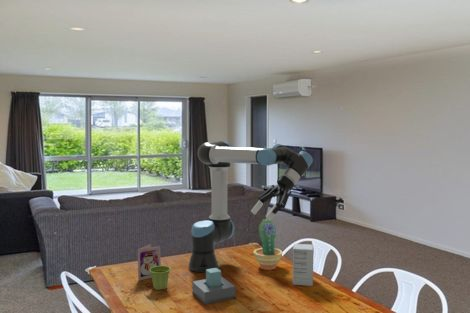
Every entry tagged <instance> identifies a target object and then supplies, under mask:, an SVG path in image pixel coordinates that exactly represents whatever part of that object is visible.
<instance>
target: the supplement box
mask: <svg viewBox="0 0 470 313" xmlns="http://www.w3.org/2000/svg"><path fill="white" fill-rule="evenodd" d="M292 285H293V286H308V287H309V286H310V287H313V285H314V244H308V243H307V244H304V243H293V247H292Z"/></svg>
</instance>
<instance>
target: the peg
mask: <svg viewBox="0 0 470 313" xmlns="http://www.w3.org/2000/svg"><path fill="white" fill-rule="evenodd" d="M221 276H222V270H221V269H219V268H212V269H206V272H205V279H206V286H207V287H209V288H213V287H218V286H221Z"/></svg>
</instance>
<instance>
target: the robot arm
mask: <svg viewBox="0 0 470 313" xmlns="http://www.w3.org/2000/svg"><path fill="white" fill-rule="evenodd" d="M197 158H198V160H199V161H200V162H201V163H203V164H204V165H208V168H209V169H210V170H211V172H210V173H211V213H210V215H209V216H208V220H200V221H196V222H194V223H193V224H192V225H191V231H190V232H191V233H190V234H191V255H190V259H189V262H188V269H189V271H192V272H196V273H206V269H212V268H217V269H219V262H218V260H217V256H216V253H215V252H216V251H215V245H217V244H220V243H222V242H226V241H228V240H229V239H230V238H232V236H233V235H234V233H235V224H234V223H233V220H231V216H230V215H229V214H228V170H230V168H231V164H248V165H249V164H250V165H262V166H267V167H268V166H272V165H278V164H279V165H280V164H283V165H284V166H286V167H287V168H285V170H284V172H283V173H282V175H280V177H279V178H278V179H277V181H276V182H277V185H274V184H271V186H270V187H269V188H268V189H267V190H265V191H264V192H263V193H261V194H260V195H259V196H258V197H257V199H258V201H257V202H256V203H255V205H254V206H253V207H252V209H251V210H250V212H251V213H252V214H253V215H254V216H255V215H257V213H258V212H259V211H260V209H261V208H262V207H263V205H264V204H265V203H266V202H268V201H269V200H270V199H272V198H275V197H277V198H276V199H277V200H276V203H275V204H274V205H273V206H272V207H271V209H270V210H268V212H267V214H266V215H265V217H266V219H267V220H268V219H269V220H271V221H272V219H273V218H274V216H275V215H277V213H278V211H279V210H281V209H285V208H286V205H287V203H288V200H289V198H290V196H291V194H292V190H293V188H294V187H295V185H296V184H297V183H298V182H299V180H300V179H301V178H302V177H303V175H304V174H305V173H306V172H307V170H308V169H309V168H310V167H311V165H312V164H313V162H314V159H313V156H312V155H311V154H310V153H309V152H307V151H303V150H301V151H299V153H298V152H295V151H293V150H292V149H291V148H290V149H289V148H288V147H286V146H285V145H282V144H280V143H275V144H274V145H273V146H272V147H271V148H270V147H269V148H267V147H234V146H232V145H231V143H229V142H227V141H221V140H220V141H219V140H218V141H208V142H204V143H202V144H201V145H199V147H198V149H197Z"/></svg>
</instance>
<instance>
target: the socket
mask: <svg viewBox="0 0 470 313" xmlns="http://www.w3.org/2000/svg"><path fill="white" fill-rule="evenodd" d="M192 294H193V295H194V296H196V298H197V299H198V300H200V302H202V304H204V305H208V304H213V303H219V302H223V301H227V300H233V299H236V285H235V284H233V283H231V282H230V281H229V280H228V279H227V278H225V277H223V276H222V275H221V286H218V287H213V288H209V287H207V286H206V278H204V279H199V280H194V281H192Z"/></svg>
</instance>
